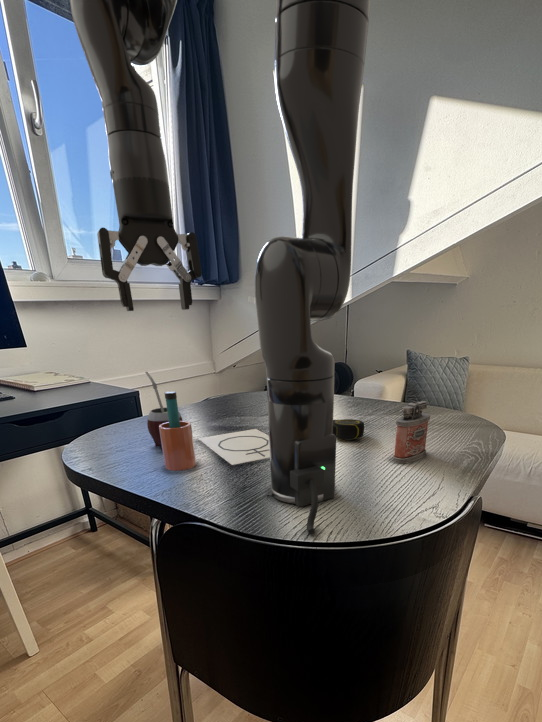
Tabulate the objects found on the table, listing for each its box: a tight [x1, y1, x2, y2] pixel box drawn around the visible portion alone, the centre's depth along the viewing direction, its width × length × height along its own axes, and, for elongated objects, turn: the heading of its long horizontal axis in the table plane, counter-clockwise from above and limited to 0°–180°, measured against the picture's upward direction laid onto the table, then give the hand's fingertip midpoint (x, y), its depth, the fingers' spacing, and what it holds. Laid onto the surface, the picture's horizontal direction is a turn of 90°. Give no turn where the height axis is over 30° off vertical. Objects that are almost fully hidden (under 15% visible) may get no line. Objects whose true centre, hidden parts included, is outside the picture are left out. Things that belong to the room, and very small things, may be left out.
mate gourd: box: [145, 371, 184, 452], centre depth 83 cm, size 8×8×15 cm
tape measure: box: [333, 418, 365, 441], centre depth 87 cm, size 7×7×4 cm
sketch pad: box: [197, 428, 270, 466], centre depth 85 cm, size 20×14×1 cm
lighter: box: [392, 400, 431, 464], centre depth 74 cm, size 8×3×10 cm, turn 129°
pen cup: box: [159, 420, 197, 472], centre depth 73 cm, size 5×5×8 cm
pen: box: [164, 390, 180, 428], centre depth 72 cm, size 2×2×13 cm
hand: (158, 310), depth 64 cm, fingers open, 8 cm apart
